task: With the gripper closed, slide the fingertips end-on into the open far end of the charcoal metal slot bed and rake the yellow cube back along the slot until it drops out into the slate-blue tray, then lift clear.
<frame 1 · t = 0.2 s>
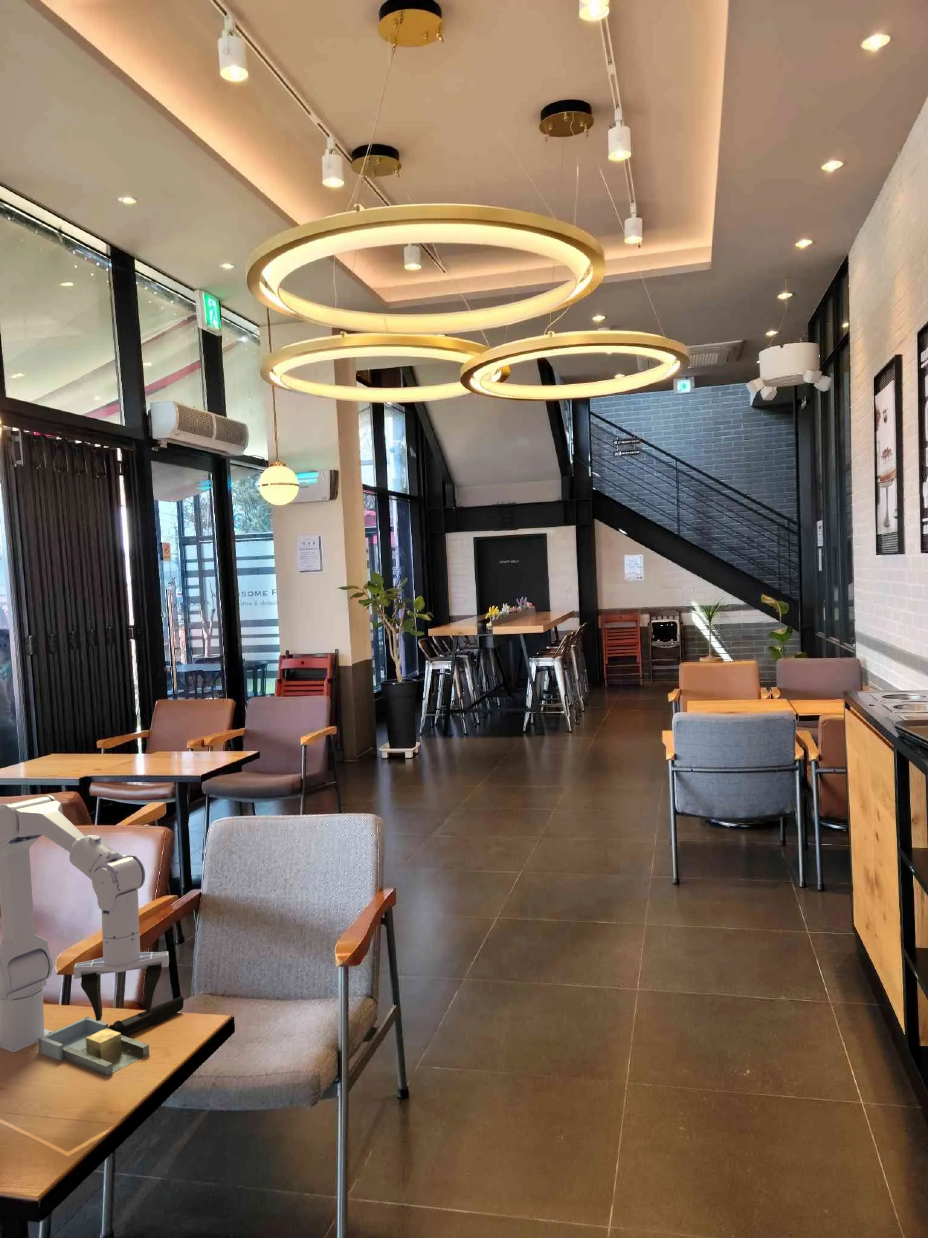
hand: (124, 1015, 148), 10 cm above the table, fingers open, 7 cm apart
electric trimmer: (144, 1028, 165), on the table, touching slot bed, tray
tray: (74, 1047, 158), on the table
slot bed: (106, 1059, 153), on the table
yellow cube: (104, 1056, 153), resting on slot bed
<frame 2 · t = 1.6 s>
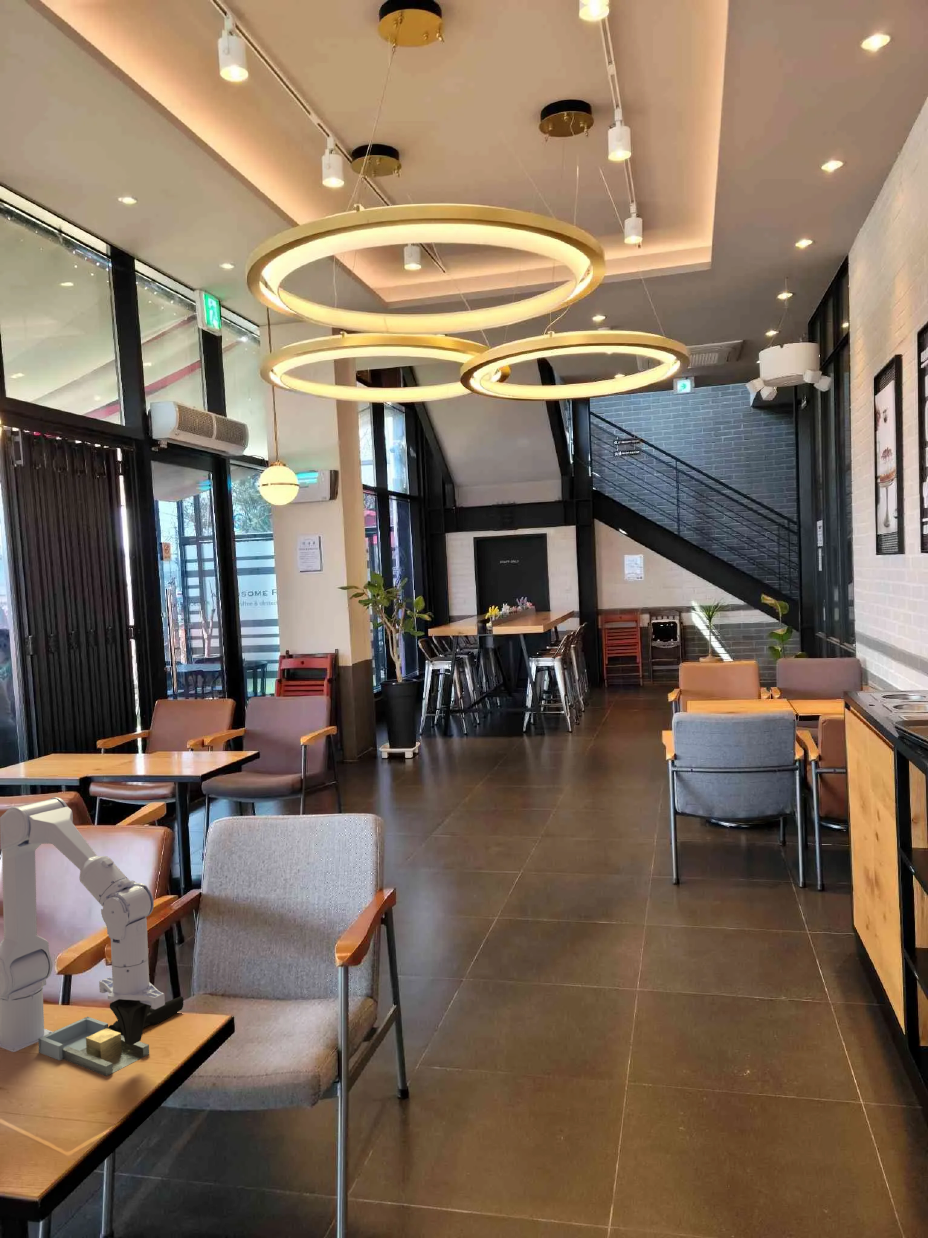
hand: (133, 1042, 149), 5 cm above the table, fingers closed
nothing on the table moved.
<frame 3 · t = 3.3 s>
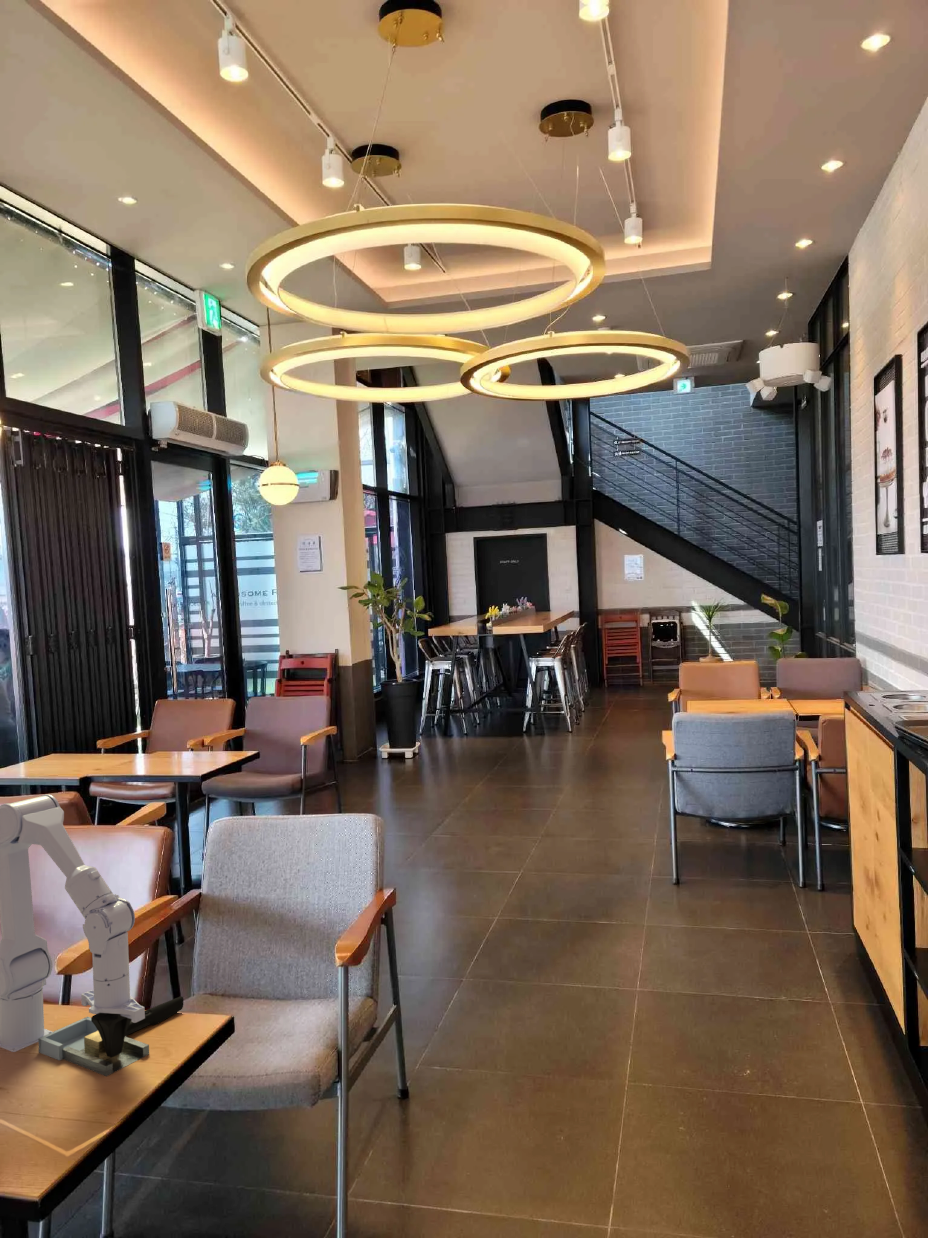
hand: (114, 1054, 152), 1 cm above the table, fingers closed
yellow cube: (102, 1055, 154), point 1 cm above the table, touching gripper
everything else where it was.
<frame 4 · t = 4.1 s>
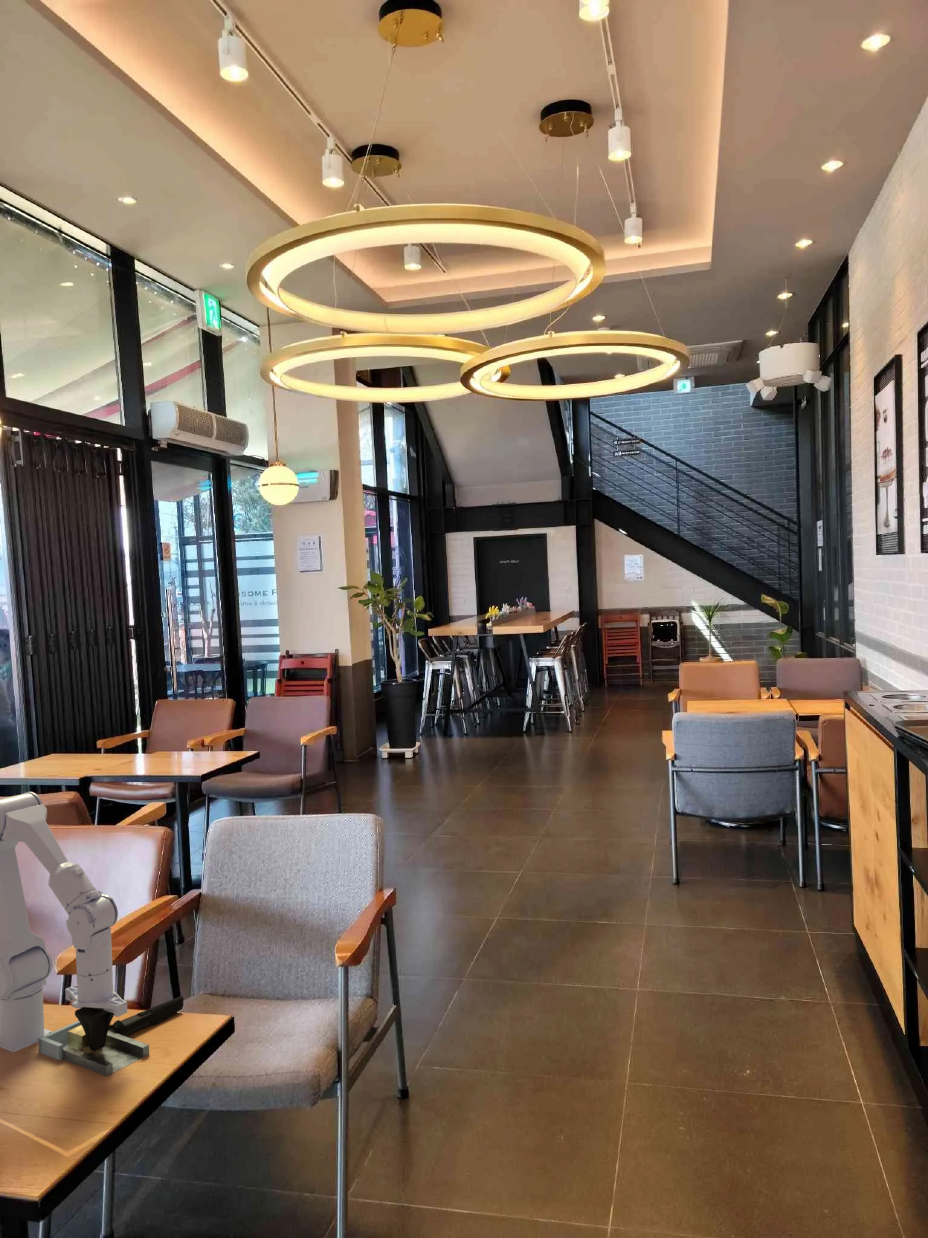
hand: (97, 1048, 154), 1 cm above the table, fingers closed
yellow cube: (86, 1049, 156), point 1 cm above the table, touching gripper, slot bed, tray
everything else where it was.
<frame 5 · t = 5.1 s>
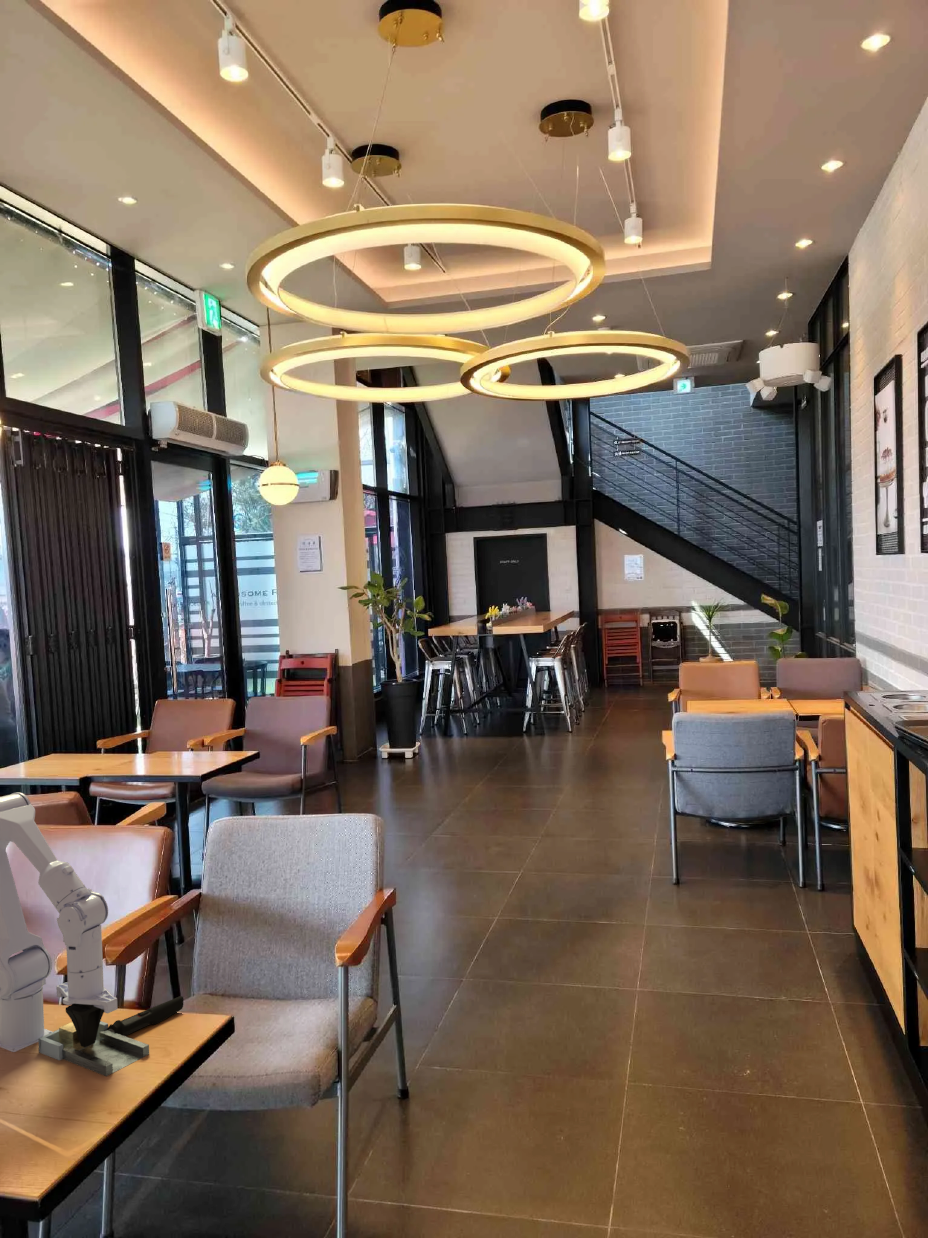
hand: (88, 1044, 156), 1 cm above the table, fingers closed
yellow cube: (76, 1045, 158), point 1 cm above the table, touching gripper, tray
everything else where it was.
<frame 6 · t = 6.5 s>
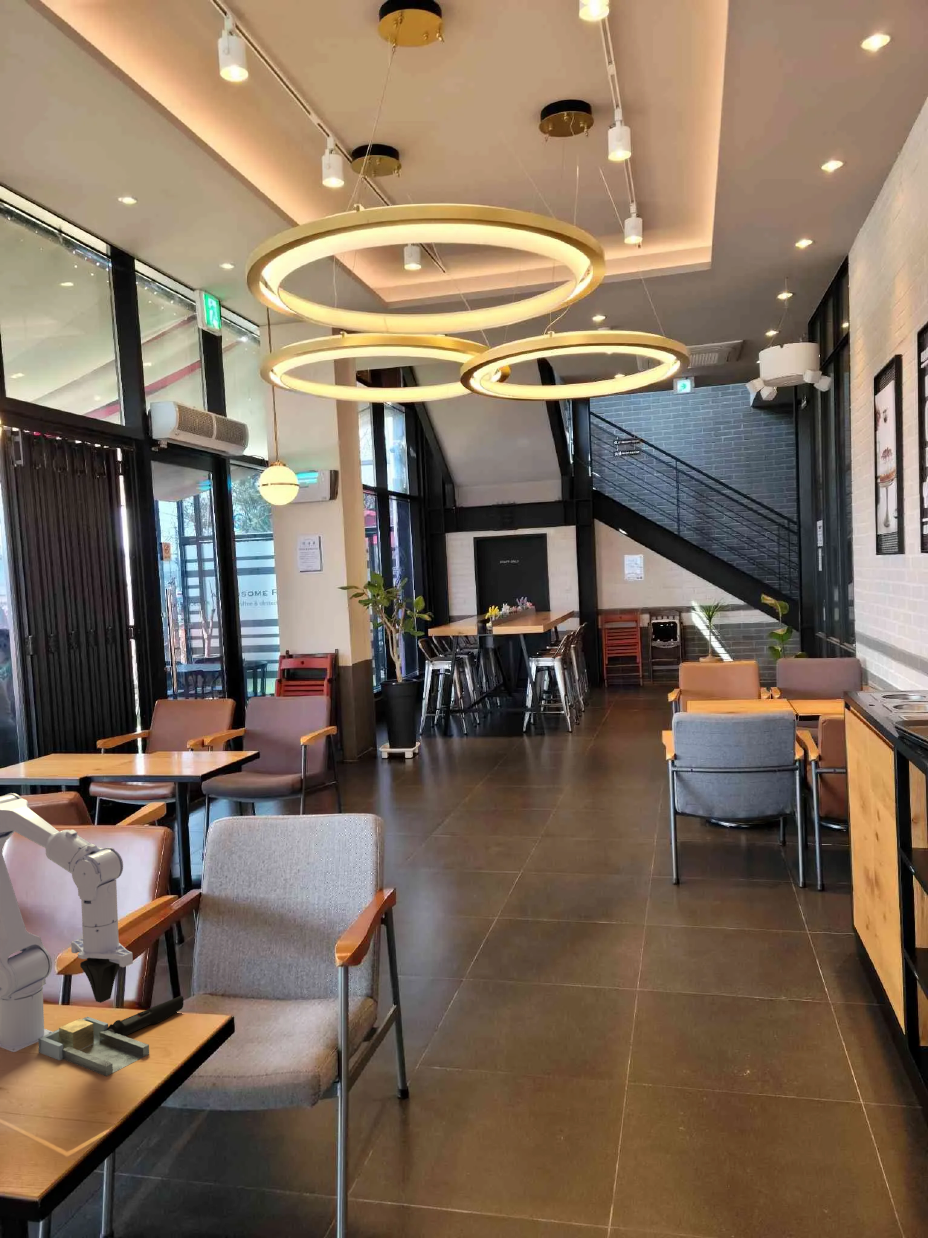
hand: (103, 1000, 155), 10 cm above the table, fingers closed
yellow cube: (76, 1045, 158), resting on tray
everything else where it was.
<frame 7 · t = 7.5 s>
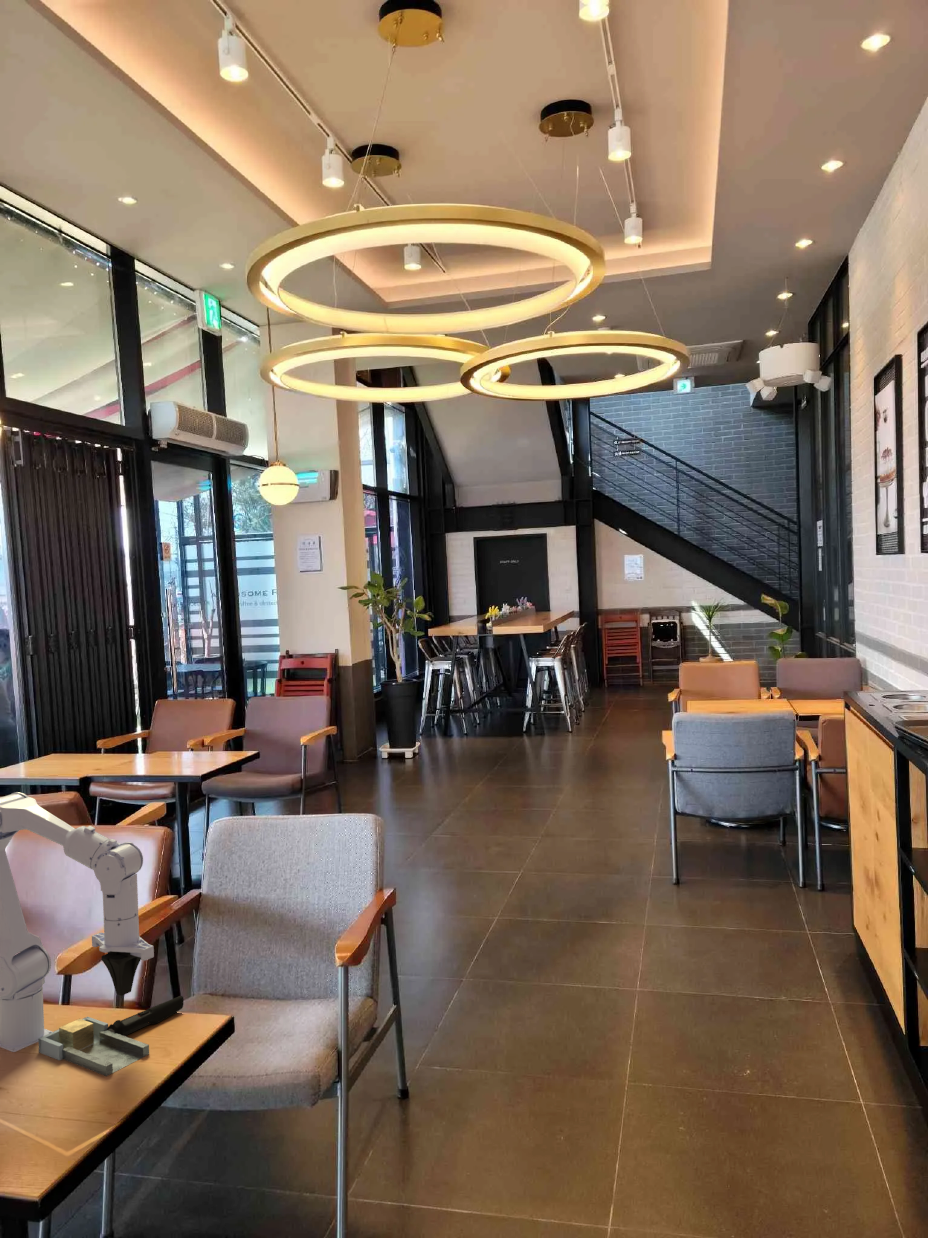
hand: (123, 993, 157), 10 cm above the table, fingers closed
nothing on the table moved.
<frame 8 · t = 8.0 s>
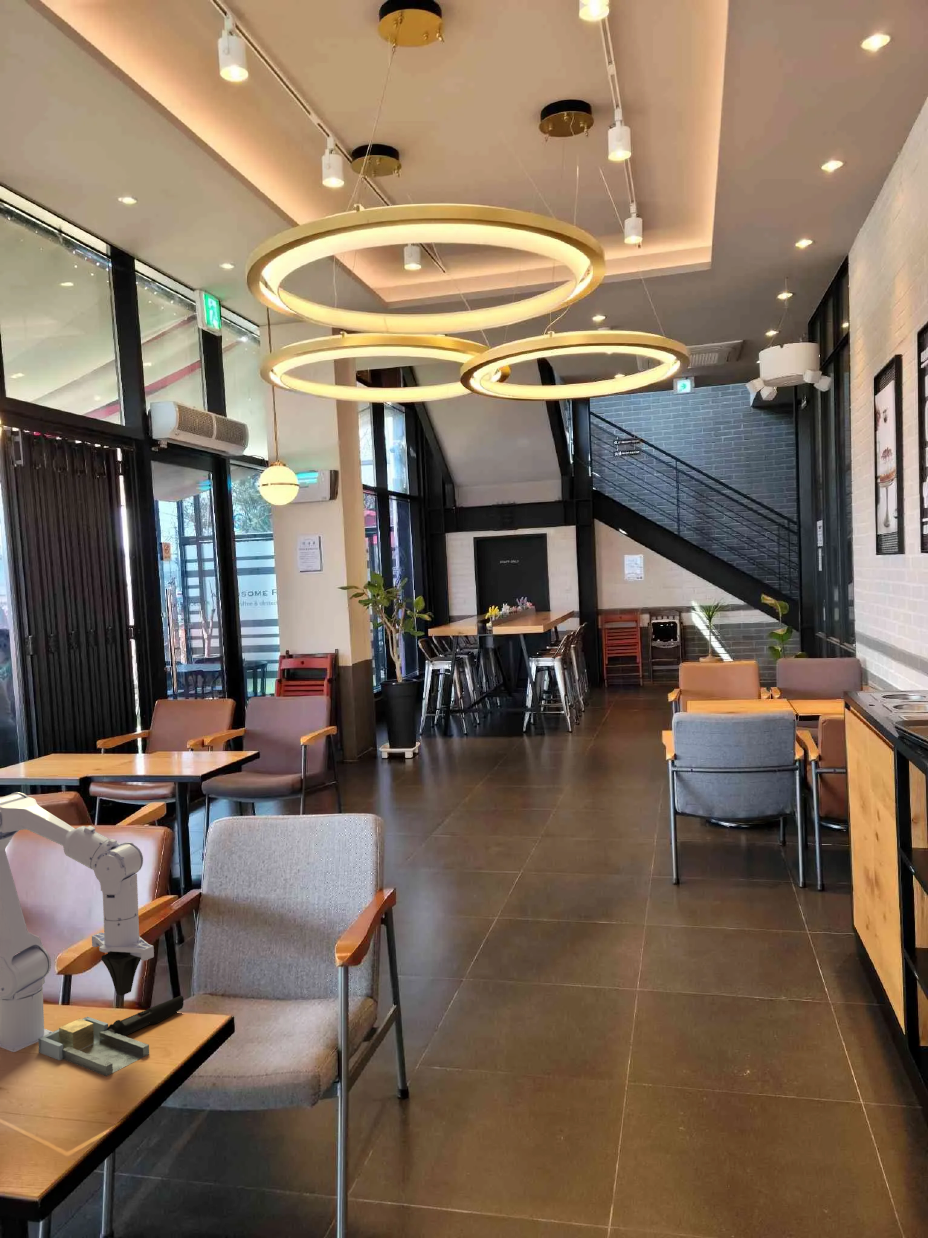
hand: (123, 993, 157), 10 cm above the table, fingers closed
nothing on the table moved.
at the end: yellow cube inside the target area on the tray (0.2 cm from its centre), point 0.5 cm above the tray's base; yellow cube point 0.5 cm above the table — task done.
